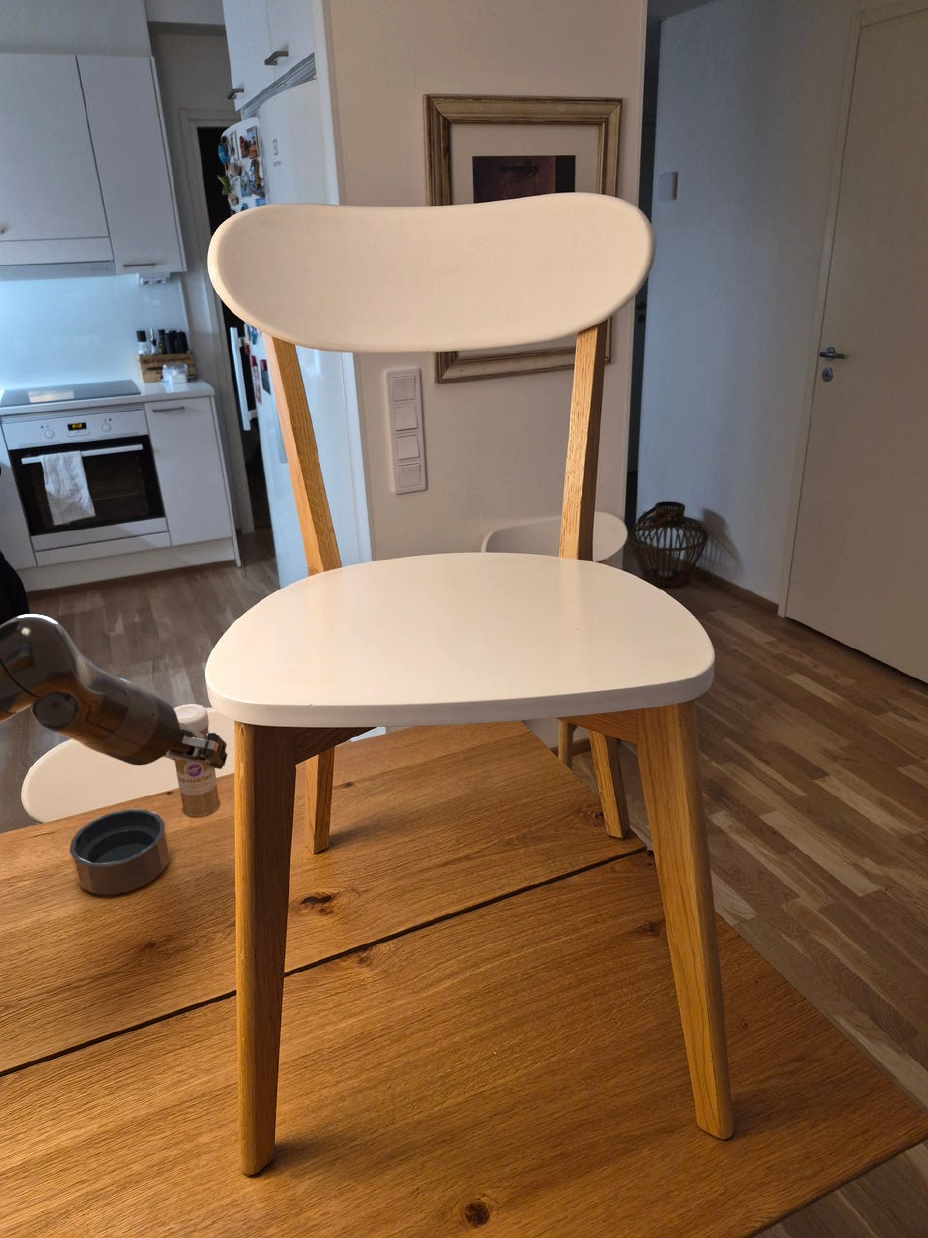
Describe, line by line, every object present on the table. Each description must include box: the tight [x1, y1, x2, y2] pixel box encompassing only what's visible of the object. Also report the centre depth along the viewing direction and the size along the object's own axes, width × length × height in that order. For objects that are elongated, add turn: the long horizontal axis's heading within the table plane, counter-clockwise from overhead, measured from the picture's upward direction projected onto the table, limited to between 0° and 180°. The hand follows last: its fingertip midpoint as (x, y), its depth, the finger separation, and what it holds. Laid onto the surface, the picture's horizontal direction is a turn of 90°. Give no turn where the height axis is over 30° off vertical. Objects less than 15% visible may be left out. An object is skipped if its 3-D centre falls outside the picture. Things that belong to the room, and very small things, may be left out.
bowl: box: [69, 808, 171, 896], centre depth 105 cm, size 11×11×5 cm
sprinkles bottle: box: [173, 703, 221, 819], centre depth 98 cm, size 5×5×13 cm
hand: (203, 757), depth 100 cm, fingers closed on sprinkles bottle, 4 cm apart
